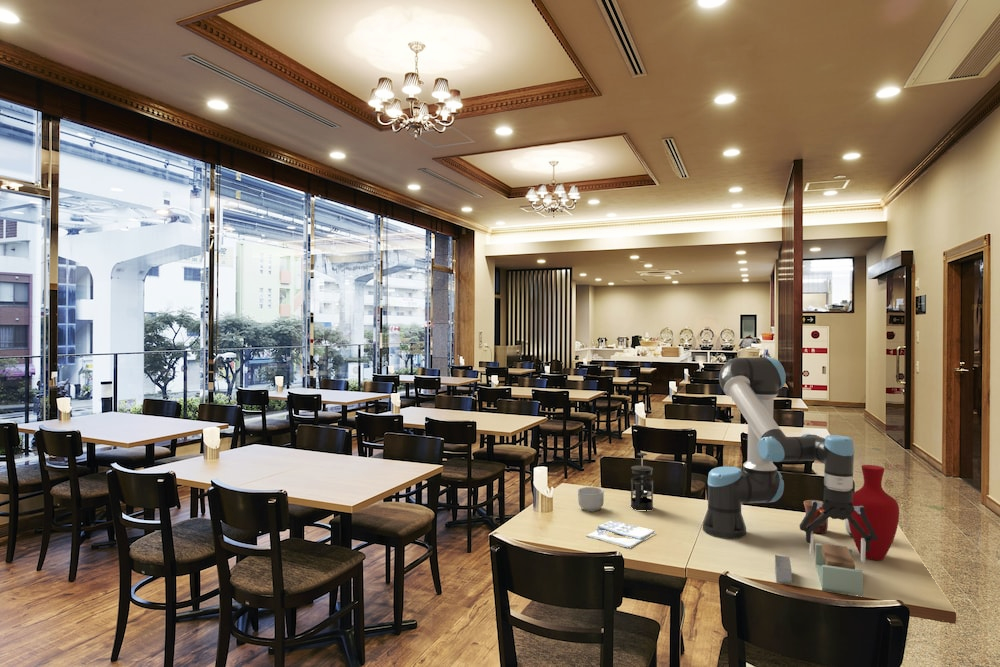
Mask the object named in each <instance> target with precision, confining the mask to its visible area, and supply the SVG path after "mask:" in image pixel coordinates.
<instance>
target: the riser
mask: <svg viewBox="0 0 1000 667" xmlns="http://www.w3.org/2000/svg"><path fill="white" fill-rule="evenodd" d="M774 555H775V554H774ZM774 571H775V582H776V583H778V584H779V583H780V584H786V585H792V565H791V559H790V557H789V556H783V555H777V554H776V555H775V556H774Z"/></svg>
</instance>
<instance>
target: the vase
mask: <svg viewBox="0 0 1000 667" xmlns="http://www.w3.org/2000/svg"><path fill="white" fill-rule="evenodd" d="M861 470H862V475H863V485H862V487H860V488H859V489H858V490H856V491H853V506H860V505H862V506H863V507H864V509H865V515H866V517H867V519H868V521H869V523H870V525H871V527H872V528H873V530H874V532H875V534H876V536H877V540H871V541H870V550H869V552H868V551H865V559H868V560H872V561H873V560H874V561H882V560H884V559H885V558H886V556H887V554H888V552H889V551H890V548H891V547H892V544H893V543H894V540H895V537H896V534H897V530H898V526H899V519H900V507H899V502H897V499H895V498H894V497H892V496H890V494H888V493H887V492H885V490H884V488H883V486H882V482H883V476H884V472H885V468H884V467H883V466H879V465H875V464H862V465H861ZM851 516H852V517H853V518H854V520H855V521H856V522H857V523H858V524H859V525H860V527H861V528H862V529H863V530H864V531H865V532H866V533H867V535H869V534H870V532H869V530H868V529H867V527H866V525H865V523H864V521H863V519H862V517H861V515H860V514H858V513H857V511H855V510H854V512H853V513H852V514H851ZM848 522H849V527H850V531H851V534H852V536H851V538H852V540H853V541H854V544H855V546H856V549H857V551H858V554H859V555H860V556H861V538H864V537H863V536H862V535H861V534H860V533H859V532H858V530H857V529H856V528H855V527H854V526H853V525H852V523H851V522H850V521H849V520H848Z"/></svg>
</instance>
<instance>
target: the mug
mask: <svg viewBox="0 0 1000 667" xmlns="http://www.w3.org/2000/svg"><path fill="white" fill-rule="evenodd" d="M812 500H813V499H807V500H804V501H803V505H804V509H805V515H806V514H807V513H808V511H809V509H810V508H811V505H812ZM816 502H821V503H822V502H823V501H821V500H816ZM824 511H825V510H824V509H823V507H820V508H819V509H816V512H815V513H814V515H813V517H812V518H811V520H810V521H809V523H808V525H807V526H806V527H808V526H809V525H810V524H811V523H812V522H813V521H814V520H815V519H816V518H818V517H819V516H820V515H821V514H822V512H824ZM828 529H829V518H828V519H826V520H825V521H823V522H822V523H821V524H820V525H819V526H818V527H817V528H816V529H814V530H813V531H812V532H813V534H820V535H821V534H825V533H827V532H828Z"/></svg>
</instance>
